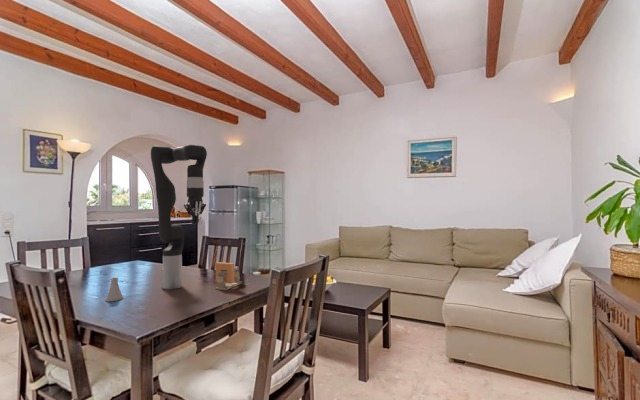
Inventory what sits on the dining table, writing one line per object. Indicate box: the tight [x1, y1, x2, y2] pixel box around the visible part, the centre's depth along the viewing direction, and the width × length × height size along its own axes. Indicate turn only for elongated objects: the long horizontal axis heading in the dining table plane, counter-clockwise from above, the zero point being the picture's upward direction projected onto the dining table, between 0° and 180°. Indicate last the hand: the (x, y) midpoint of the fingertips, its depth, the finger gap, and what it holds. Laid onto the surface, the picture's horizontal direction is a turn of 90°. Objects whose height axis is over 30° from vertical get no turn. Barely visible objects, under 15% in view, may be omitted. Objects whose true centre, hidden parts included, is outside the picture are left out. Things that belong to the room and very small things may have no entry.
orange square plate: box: [215, 261, 235, 284], centre depth 173 cm, size 10×2×10 cm, turn 70°
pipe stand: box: [214, 266, 243, 291], centre depth 177 cm, size 15×6×9 cm, turn 160°
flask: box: [105, 277, 124, 302], centre depth 154 cm, size 7×7×10 cm
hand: (195, 223), depth 157 cm, fingers closed
